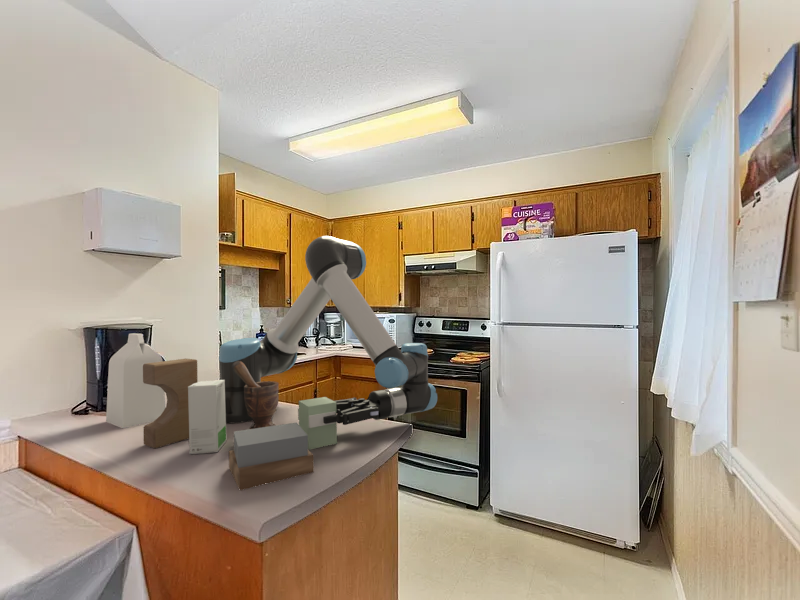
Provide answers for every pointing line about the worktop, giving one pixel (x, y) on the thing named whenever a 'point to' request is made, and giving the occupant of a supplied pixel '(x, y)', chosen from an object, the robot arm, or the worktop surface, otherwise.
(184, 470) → the worktop surface
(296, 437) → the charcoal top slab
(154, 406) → the milk
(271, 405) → the mortar and pestle
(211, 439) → the skincare box
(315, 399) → the sage block
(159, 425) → the decorative block
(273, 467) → the walnut base slab
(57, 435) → the worktop surface
